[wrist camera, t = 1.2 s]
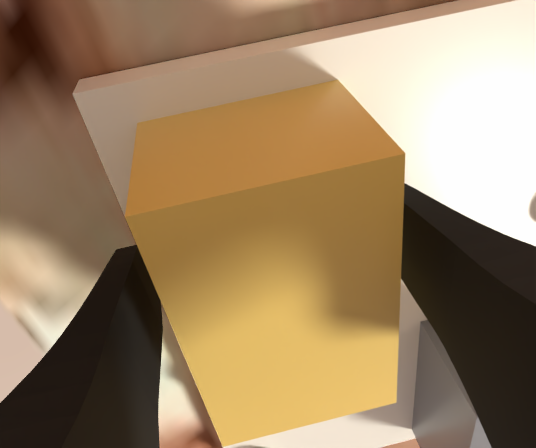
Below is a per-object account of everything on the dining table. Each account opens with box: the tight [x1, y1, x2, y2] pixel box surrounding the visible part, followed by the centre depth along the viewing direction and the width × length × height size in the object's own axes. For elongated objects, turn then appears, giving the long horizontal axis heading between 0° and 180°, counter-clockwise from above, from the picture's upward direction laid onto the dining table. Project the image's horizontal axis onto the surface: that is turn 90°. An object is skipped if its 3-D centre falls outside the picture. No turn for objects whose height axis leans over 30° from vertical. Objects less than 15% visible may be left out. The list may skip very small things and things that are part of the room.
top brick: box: [125, 80, 406, 447], centre depth 12 cm, size 8×5×4 cm, turn 8°
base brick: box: [412, 320, 491, 448], centre depth 18 cm, size 8×5×4 cm, turn 8°
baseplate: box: [73, 0, 536, 448], centre depth 17 cm, size 20×15×2 cm
